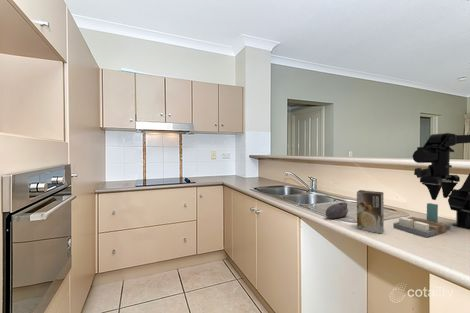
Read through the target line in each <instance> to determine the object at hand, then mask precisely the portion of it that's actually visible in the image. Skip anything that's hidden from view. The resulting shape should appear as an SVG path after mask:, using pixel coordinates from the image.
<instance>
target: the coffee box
mask: <svg viewBox="0 0 470 313" xmlns="http://www.w3.org/2000/svg"><path fill="white" fill-rule="evenodd" d="M384 218H385V216H384V191H374V190H365V189H364V190H362V189H359V190H358V191H356V229H357V230H362V231H367V232H371V233H377V234H383V232H384V231H385V228H384V224H385V223H384Z"/></svg>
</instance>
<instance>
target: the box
mask: <svg viewBox="0 0 470 313" xmlns="http://www.w3.org/2000/svg"><path fill="white" fill-rule="evenodd" d="M392 224H393V225H392V226H393V229H396V230H399V231H403V232H406V233H409V234H412V235H413V234H414V235H416V236H419V237H423V238H426V239H427V238H431V237H434V236H436V235H435V230H433V229H429V231H427V232H425V231H421V230H417V229H414V224H413V228H410V227H407V226H403V225H399V221H397V222H394V223H392Z"/></svg>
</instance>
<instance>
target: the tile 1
mask: <svg viewBox="0 0 470 313" xmlns="http://www.w3.org/2000/svg"><path fill="white" fill-rule="evenodd" d="M408 218H409V217H403V216H402V217H398V222H399V225H403V226H407V227H410V228H413V220H412V219H408Z"/></svg>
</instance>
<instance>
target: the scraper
mask: <svg viewBox="0 0 470 313" xmlns="http://www.w3.org/2000/svg"><path fill="white" fill-rule="evenodd" d="M438 212H439V204H436V203H432V202H431V203H430V202H428V203H426V219H424V218H423V219H424V220H428V221H433V222H437V223H439V221H438V220H439V218H438V215H439V213H438ZM419 218H420V217H419ZM420 219H422V218H420ZM440 223H441V222H440ZM441 224H443V223H441ZM444 224H445V225H447V227H446V232H448V231H450V230H451V225H449V224H446V223H444Z"/></svg>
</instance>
